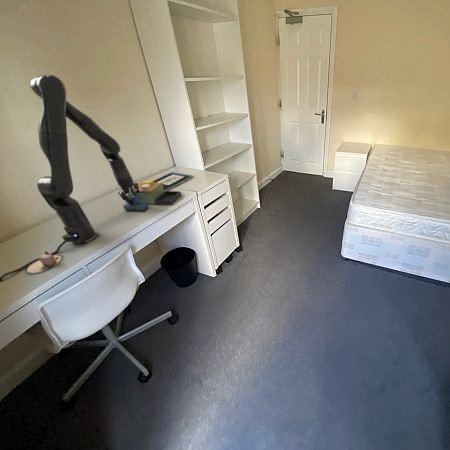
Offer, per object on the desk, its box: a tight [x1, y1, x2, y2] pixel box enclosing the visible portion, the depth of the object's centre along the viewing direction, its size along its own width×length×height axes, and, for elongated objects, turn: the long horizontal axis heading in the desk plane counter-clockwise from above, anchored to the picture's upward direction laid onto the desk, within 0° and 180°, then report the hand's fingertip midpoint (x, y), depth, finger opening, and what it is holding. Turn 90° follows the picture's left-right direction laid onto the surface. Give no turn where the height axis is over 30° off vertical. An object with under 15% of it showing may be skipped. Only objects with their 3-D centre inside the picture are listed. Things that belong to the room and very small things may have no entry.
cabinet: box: [131, 181, 165, 205], centre depth 163 cm, size 13×16×9 cm
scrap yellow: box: [144, 179, 155, 186], centre depth 163 cm, size 4×4×2 cm
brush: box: [122, 196, 150, 212], centre depth 153 cm, size 12×5×9 cm, turn 84°
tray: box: [154, 190, 182, 206], centre depth 164 cm, size 13×10×3 cm
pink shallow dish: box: [26, 251, 62, 275], centre depth 114 cm, size 12×12×4 cm
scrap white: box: [141, 184, 151, 190], centre depth 158 cm, size 4×4×2 cm
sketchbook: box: [153, 171, 194, 191], centre depth 188 cm, size 22×30×2 cm
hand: (134, 202), depth 153 cm, fingers open, 4 cm apart
